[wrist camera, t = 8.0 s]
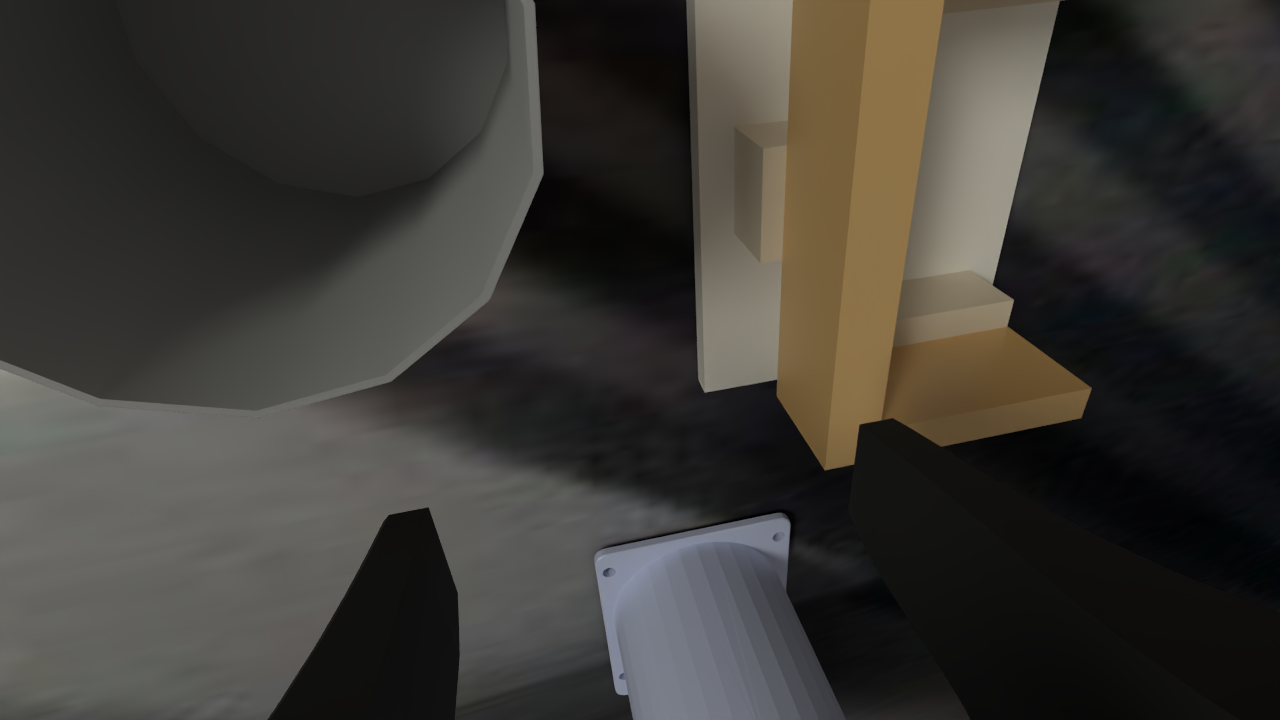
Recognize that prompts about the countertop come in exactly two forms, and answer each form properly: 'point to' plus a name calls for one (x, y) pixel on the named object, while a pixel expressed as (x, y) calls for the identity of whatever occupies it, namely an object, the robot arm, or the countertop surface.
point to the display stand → (945, 193)
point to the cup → (255, 191)
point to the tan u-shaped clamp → (879, 249)
